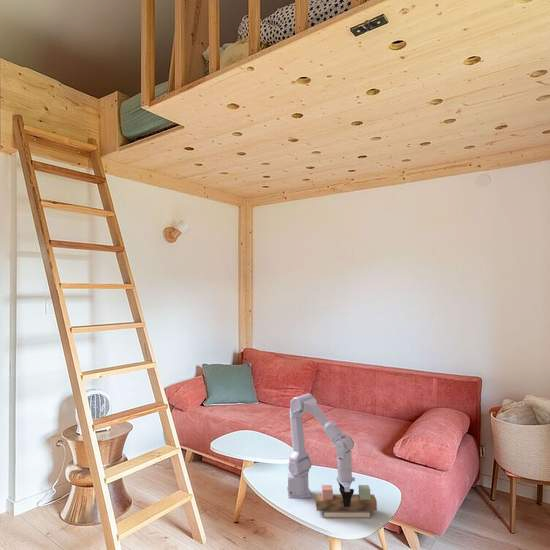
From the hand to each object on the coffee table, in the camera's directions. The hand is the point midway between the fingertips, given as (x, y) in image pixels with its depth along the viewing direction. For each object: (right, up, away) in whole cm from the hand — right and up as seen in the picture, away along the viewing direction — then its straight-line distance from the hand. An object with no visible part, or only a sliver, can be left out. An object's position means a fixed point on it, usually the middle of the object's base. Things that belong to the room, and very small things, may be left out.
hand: (345, 501), depth 163 cm
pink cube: (-7, +1, 0) cm, 7 cm away
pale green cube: (+8, +2, 0) cm, 8 cm away
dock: (0, -4, 0) cm, 4 cm away
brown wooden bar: (0, -2, 0) cm, 2 cm away
